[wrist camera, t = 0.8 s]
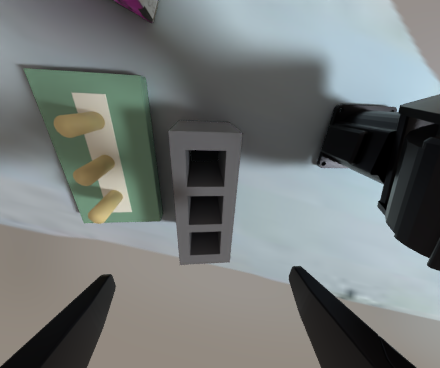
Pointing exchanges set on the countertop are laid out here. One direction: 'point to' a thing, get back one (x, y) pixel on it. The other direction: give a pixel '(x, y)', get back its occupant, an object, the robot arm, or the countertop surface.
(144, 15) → the candy bar box
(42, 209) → the countertop surface
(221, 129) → the grey cinder block
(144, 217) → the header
